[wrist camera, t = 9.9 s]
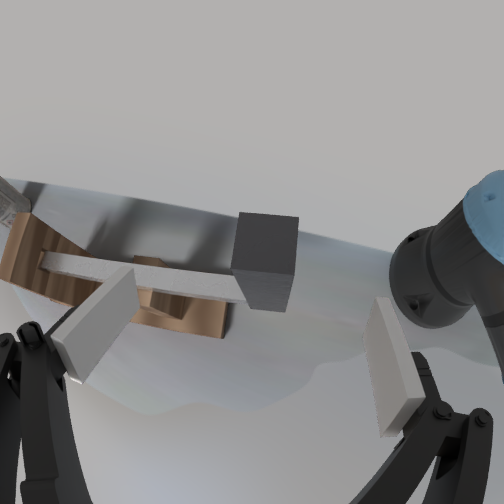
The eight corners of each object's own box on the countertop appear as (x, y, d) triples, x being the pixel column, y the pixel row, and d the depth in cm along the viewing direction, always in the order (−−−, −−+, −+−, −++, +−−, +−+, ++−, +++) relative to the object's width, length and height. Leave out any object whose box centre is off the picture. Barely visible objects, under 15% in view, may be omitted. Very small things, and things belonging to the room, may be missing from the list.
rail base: (231, 281, 40) (198, 221, 23) (223, 338, 38) (178, 323, 20) (67, 259, 44) (-7, 211, 26) (56, 302, 41) (-25, 269, 23)
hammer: (288, 281, 27) (298, 217, 14) (284, 314, 26) (294, 275, 13) (56, 252, 30) (-17, 204, 18) (50, 276, 29) (-28, 234, 17)
